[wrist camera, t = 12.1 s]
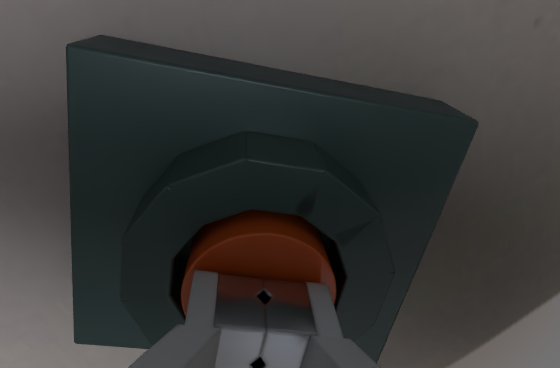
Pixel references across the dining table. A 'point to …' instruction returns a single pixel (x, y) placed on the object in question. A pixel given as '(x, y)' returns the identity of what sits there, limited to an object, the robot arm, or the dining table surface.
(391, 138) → the button box
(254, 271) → the button
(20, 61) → the dining table surface
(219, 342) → the robot arm
